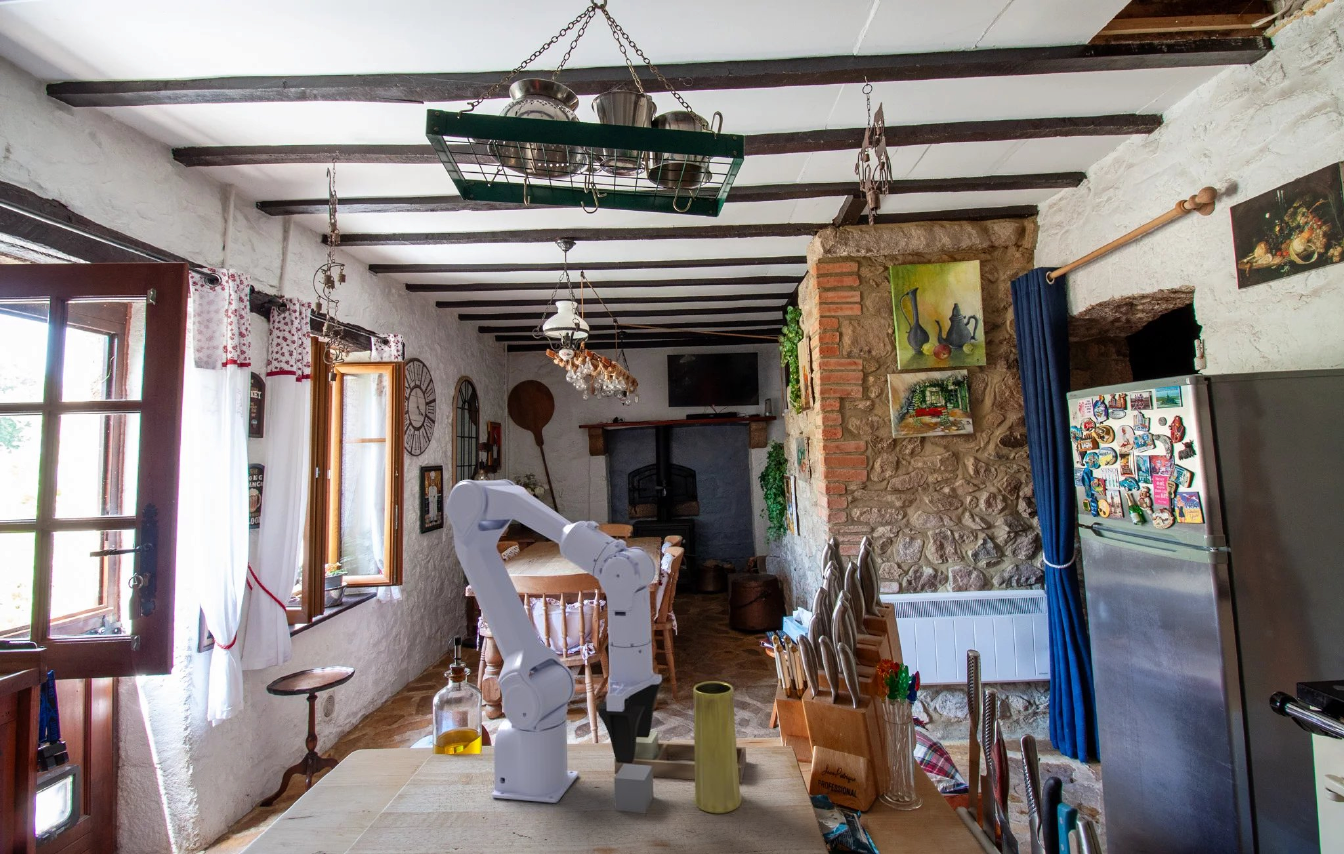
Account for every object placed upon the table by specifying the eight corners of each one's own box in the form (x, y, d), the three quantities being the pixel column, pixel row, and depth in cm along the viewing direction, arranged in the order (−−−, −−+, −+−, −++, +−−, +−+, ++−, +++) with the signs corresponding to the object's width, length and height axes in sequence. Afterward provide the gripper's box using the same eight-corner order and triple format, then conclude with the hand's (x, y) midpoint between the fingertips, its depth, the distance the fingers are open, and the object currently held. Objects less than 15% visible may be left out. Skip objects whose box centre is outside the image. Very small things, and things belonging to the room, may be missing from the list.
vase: (739, 815, 75) (734, 696, 76) (690, 812, 76) (686, 694, 77) (743, 791, 81) (738, 680, 82) (698, 788, 82) (694, 679, 83)
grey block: (615, 810, 77) (614, 777, 78) (624, 794, 81) (623, 763, 82) (645, 813, 76) (644, 779, 77) (653, 797, 80) (652, 765, 81)
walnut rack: (614, 773, 87) (614, 744, 87) (627, 753, 93) (627, 726, 94) (741, 782, 83) (740, 752, 83) (746, 761, 89) (745, 733, 90)
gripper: (644, 658, 73) (648, 776, 72) (671, 628, 87) (675, 727, 86) (589, 656, 74) (592, 772, 73) (624, 628, 88) (627, 725, 87)
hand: (633, 748), depth 79 cm, fingers open, 7 cm apart
